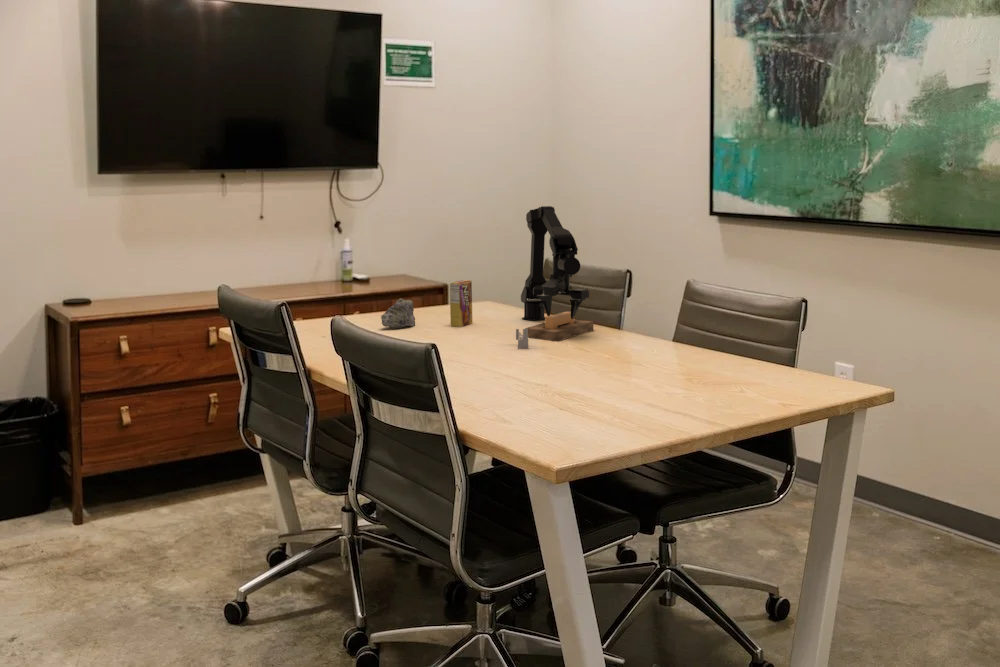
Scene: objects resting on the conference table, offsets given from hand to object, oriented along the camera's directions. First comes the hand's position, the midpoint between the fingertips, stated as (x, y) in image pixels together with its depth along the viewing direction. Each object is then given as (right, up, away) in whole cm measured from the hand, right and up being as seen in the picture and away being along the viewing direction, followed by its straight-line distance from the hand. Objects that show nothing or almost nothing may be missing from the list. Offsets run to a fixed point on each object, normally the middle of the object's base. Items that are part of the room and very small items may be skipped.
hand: (560, 317), depth 344 cm
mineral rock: (-55, -3, +10) cm, 56 cm away
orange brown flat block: (0, -5, +1) cm, 6 cm away
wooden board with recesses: (0, -5, +1) cm, 6 cm away
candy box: (-34, -3, +15) cm, 37 cm away
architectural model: (-18, -10, -21) cm, 29 cm away
